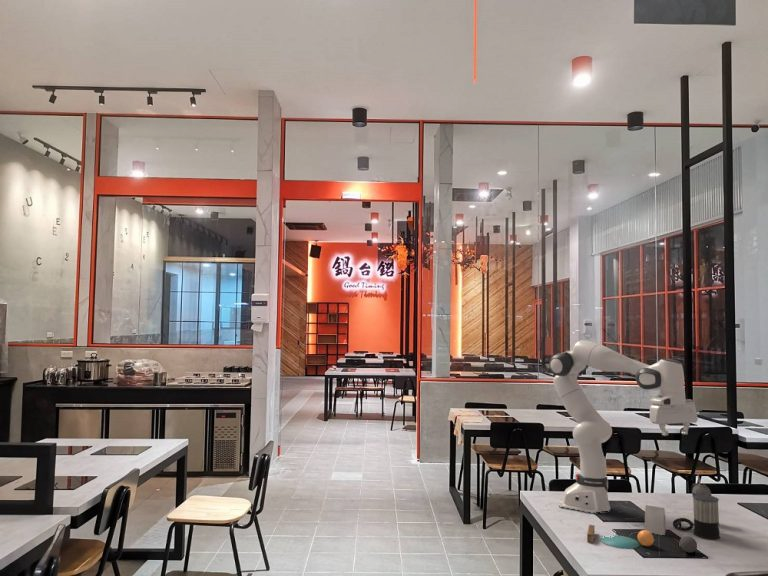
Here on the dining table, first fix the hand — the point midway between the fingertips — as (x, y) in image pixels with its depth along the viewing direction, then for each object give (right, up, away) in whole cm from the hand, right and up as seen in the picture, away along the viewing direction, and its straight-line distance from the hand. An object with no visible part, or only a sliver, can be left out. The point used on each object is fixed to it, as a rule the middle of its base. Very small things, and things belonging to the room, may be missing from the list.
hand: (674, 434), depth 224 cm
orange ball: (-19, -34, -16) cm, 42 cm away
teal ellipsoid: (-27, -37, -13) cm, 48 cm away
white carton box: (-8, -39, -1) cm, 40 cm away
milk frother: (+8, -39, -1) cm, 40 cm away
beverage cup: (+18, -40, +13) cm, 46 cm away
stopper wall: (-37, -37, -9) cm, 53 cm away
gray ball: (-6, -34, -22) cm, 41 cm away
